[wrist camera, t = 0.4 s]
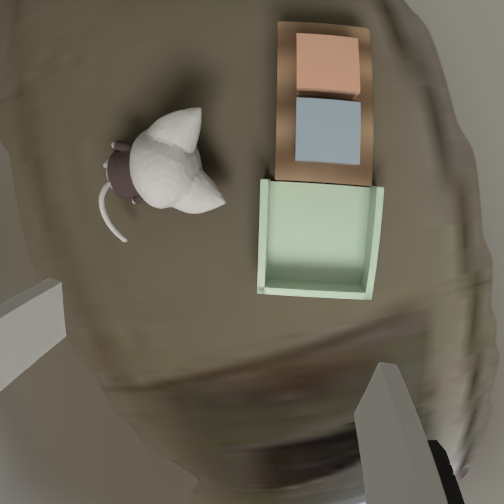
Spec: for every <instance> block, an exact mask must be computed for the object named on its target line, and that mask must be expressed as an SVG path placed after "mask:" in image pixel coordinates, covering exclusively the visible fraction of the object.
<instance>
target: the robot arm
mask: <svg viewBox="0 0 504 504" xmlns="http://www.w3.org/2000/svg"><path fill="white" fill-rule="evenodd" d="M64 337H66V330H65V320H64V310H63V297H62V282H59V281H57V280H54V279H52V278H48V279H46V280H44V281H42V282H40V283H39V284H37V285H35V286H33V287H31V288H30V289H27V290H26V291H24V292H22V293H20V294H18V295H16V296H15V297H13V298H11V299H10V300H7V301H6V302H4V303H2V304H0V391H1V390H2V389H3V388H5V387H6V386H7V385H8V384H9V383H10V382H12V381H13V380H14V379H15V378H16V377H18V376H19V375H20V374H21V373H22V372H23V371H25V370H26V369H27V368H28V367H29V366H31V365H32V364H33V363H34V362H35V361H36V360H38V359H39V358H40V357H41V356H42V355H44V354H45V353H46V352H47V351H49V350H50V349H51V348H52V347H53V346H55V345H56V344H57V343H58V342H60V341H61V340H62V339H63V338H64ZM354 418H355V424H356V430H357V437H358V443H359V450H360V456H361V463H362V471H363V478H364V486H365V494H366V503H367V504H464V501H463V498H462V495H461V492H460V489H459V486H458V483H457V480H456V477H455V475H453V469H452V467H451V465H450V461H449V459H448V456H447V453H446V451H445V450H444V448H443V447H442V446H441V445H440V444H439V443H438V441H437V440H427V439H426V436H425V434H424V431H423V428H422V426H421V423H420V420H419V418H418V415H417V413H416V410H415V407H414V405H413V402H412V400H411V398H410V395H409V393H408V390H407V388H406V385H405V383H404V381H403V378H402V376H401V374H400V371H399V369H398V367H397V364H389V363H382V362H379V363H378V365H377V368H376V370H375V372H374V374H373V376H372V378H371V381H370V383H369V385H368V387H367V389H366V391H365V393H364V395H363V397H362V399H361V401H360V403H359V405H358V407H357V409H356V410H355V412H354Z"/></svg>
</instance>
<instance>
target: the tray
mask: <svg viewBox="0 0 504 504" xmlns="http://www.w3.org/2000/svg"><path fill="white" fill-rule="evenodd" d="M383 195H384V187H379V186H369V187H358V186H346V185H333V184H318V183H302V182H282V181H271V179H261V181H260V215H259V248H258V280H257V293H258V294H272V295H287V296H304V297H322V298H342V299H366V300H371V299H372V293H373V286H374V280H375V273H376V265H377V258H378V249H379V241H380V231H381V221H382V209H383Z"/></svg>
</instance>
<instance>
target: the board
mask: <svg viewBox="0 0 504 504" xmlns="http://www.w3.org/2000/svg"><path fill="white" fill-rule="evenodd" d="M296 33H305V34H321V35H333V36H343V37H352V38H358V47H359V65H360V94H359V95H358V96H357V97H356V99H346V98H336V97H323V96H307V95H297V37H296ZM297 97H301V98H318V99H332V100H343V101H353V102H361V139H360V165H345V164H333V163H318V162H301V161H295V151H296V100H297ZM373 135H374V109H373V74H372V56H371V43H370V31H369V29H368V28H362V27H354V26H346V25H336V24H325V23H310V22H278V48H277V115H276V156H275V180H289V181H308V182H324V183H338V184H350V185H362V186H372V171H373Z"/></svg>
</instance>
